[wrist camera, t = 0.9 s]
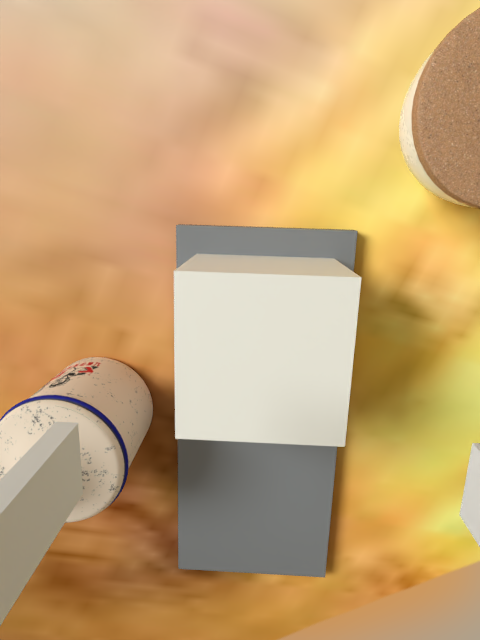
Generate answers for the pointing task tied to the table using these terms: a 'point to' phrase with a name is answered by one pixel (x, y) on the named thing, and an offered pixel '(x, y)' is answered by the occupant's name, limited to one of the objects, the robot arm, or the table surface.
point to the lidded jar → (446, 117)
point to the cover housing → (264, 348)
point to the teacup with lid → (85, 425)
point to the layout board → (257, 450)
